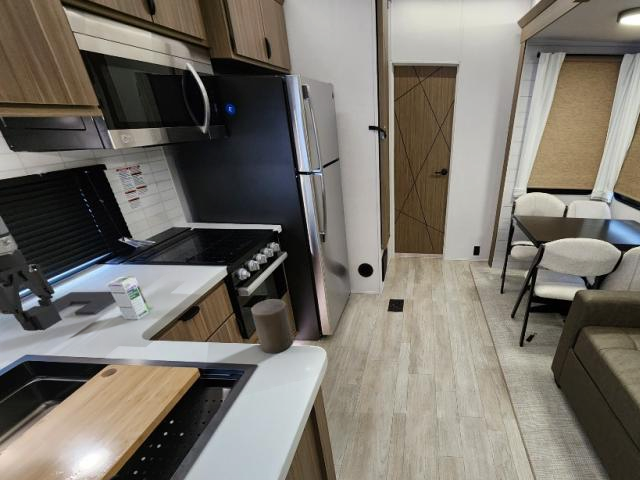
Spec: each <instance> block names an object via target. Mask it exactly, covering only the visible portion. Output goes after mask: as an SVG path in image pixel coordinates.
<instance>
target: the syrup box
mask: <svg viewBox="0 0 640 480" xmlns="http://www.w3.org/2000/svg"><path fill="white" fill-rule="evenodd" d="M106 285H107V287H108V289H109V292H111V293H112V295H113V297H114V299H115V301H116V302H115V303H116V305H117V307H118V309H119V311H120V313H121V316H122V317H123V319H124V320H140V319H141V318H143V317H144V316H146V315H148V314H149V313H151V310H150V307H149V305H148V303H147V301H146V298H145V296H144V293H143V292H142V290H141V287H140V285H139V282H138V280H137V278H136V277H135V276H130V275H129V276H128V275H127V276H125V275H124V276H123V275H122V276H119V277H118V278H115V279H114V280H112V281H109V282H107V283H106Z"/></svg>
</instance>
